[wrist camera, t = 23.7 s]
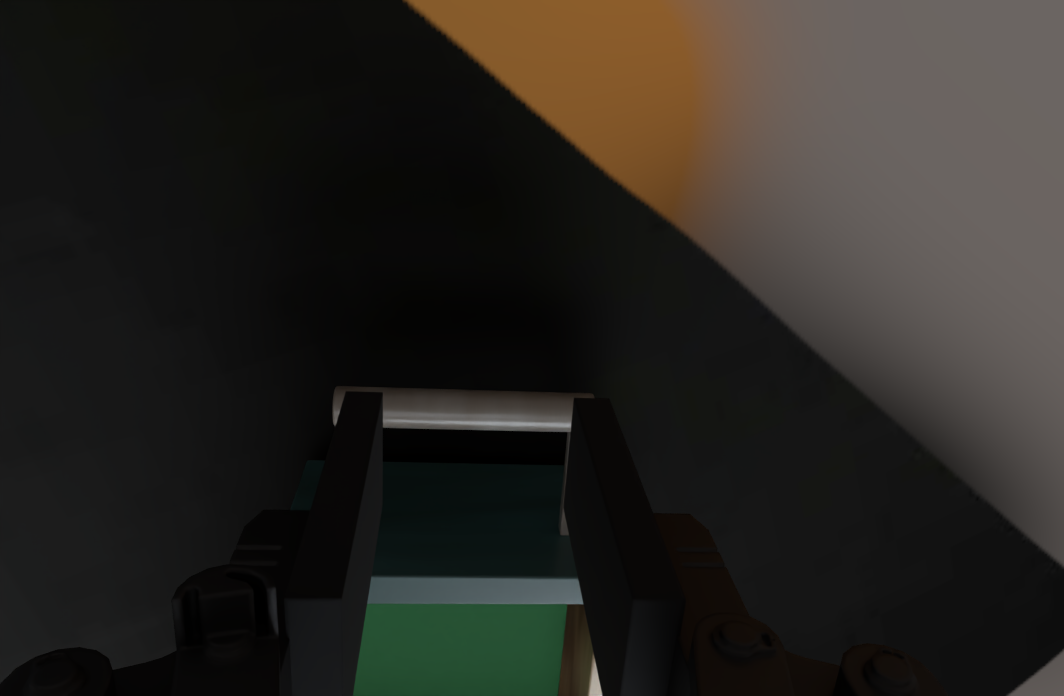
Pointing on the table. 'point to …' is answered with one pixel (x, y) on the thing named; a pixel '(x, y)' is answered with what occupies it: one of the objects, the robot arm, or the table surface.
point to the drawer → (476, 516)
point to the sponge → (461, 650)
